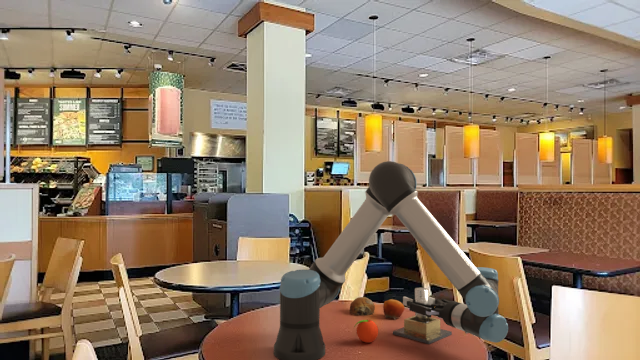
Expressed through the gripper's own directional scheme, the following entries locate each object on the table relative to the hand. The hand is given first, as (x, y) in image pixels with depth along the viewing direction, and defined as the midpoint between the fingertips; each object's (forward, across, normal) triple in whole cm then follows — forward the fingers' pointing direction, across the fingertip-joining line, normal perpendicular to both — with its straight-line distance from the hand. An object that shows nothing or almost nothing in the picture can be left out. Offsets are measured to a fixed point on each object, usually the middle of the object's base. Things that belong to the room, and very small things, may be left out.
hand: (413, 299), depth 154 cm
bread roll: (+27, -5, -11) cm, 30 cm away
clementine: (-4, -22, -11) cm, 24 cm away
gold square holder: (-5, 0, -10) cm, 12 cm away
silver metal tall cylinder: (-5, 0, -9) cm, 11 cm away
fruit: (+16, +3, -11) cm, 20 cm away
